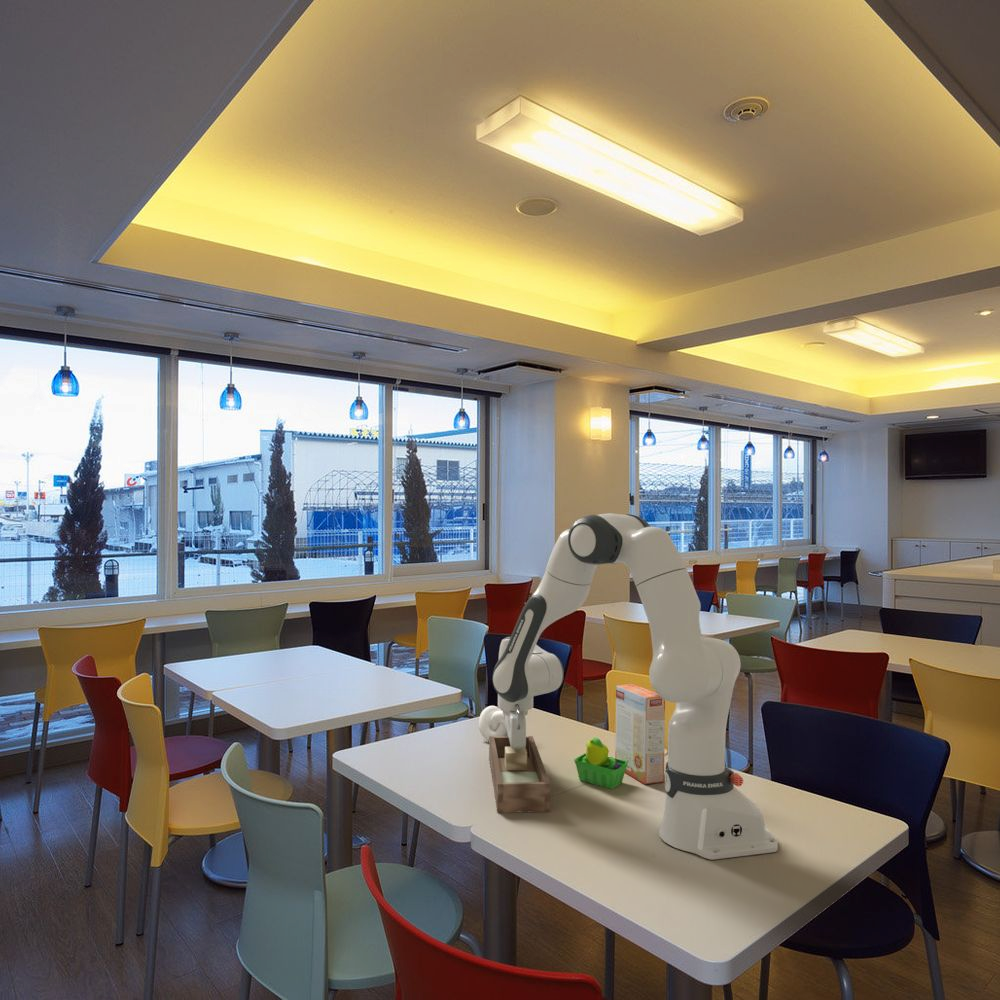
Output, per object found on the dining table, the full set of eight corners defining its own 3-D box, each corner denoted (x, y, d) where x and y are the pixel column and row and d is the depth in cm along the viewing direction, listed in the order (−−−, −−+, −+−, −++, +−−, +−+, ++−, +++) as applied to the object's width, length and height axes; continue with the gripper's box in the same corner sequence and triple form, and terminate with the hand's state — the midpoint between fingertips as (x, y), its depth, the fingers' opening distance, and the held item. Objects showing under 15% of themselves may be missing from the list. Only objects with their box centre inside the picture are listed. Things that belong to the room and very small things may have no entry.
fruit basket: (629, 782, 176) (629, 735, 176) (611, 793, 169) (612, 744, 169) (588, 772, 183) (588, 726, 183) (569, 782, 175) (570, 735, 176)
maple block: (524, 762, 180) (525, 746, 180) (526, 769, 175) (527, 753, 175) (504, 762, 180) (504, 746, 180) (506, 770, 175) (506, 753, 175)
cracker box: (665, 782, 176) (666, 695, 176) (644, 785, 174) (645, 697, 174) (634, 764, 189) (635, 682, 189) (614, 766, 187) (614, 684, 187)
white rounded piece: (490, 730, 217) (491, 700, 217) (528, 736, 212) (529, 704, 212) (474, 741, 206) (475, 709, 206) (514, 747, 202) (514, 714, 202)
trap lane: (532, 759, 192) (532, 736, 192) (550, 811, 158) (550, 783, 158) (489, 759, 191) (489, 736, 191) (497, 812, 157) (497, 784, 157)
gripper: (532, 711, 172) (531, 770, 172) (524, 690, 192) (523, 743, 192) (505, 711, 172) (505, 770, 171) (500, 690, 192) (499, 743, 192)
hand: (514, 755), depth 182 cm, fingers closed
